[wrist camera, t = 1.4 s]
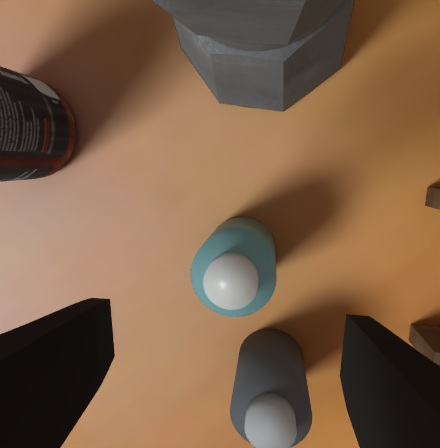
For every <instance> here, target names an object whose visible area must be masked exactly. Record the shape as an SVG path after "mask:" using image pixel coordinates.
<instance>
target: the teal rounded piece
mask: <svg viewBox="0 0 440 448" xmlns="http://www.w3.org/2000/svg"><path fill="white" fill-rule="evenodd" d="M191 282H192V286H193V289H194V291H195V293H196V295H197V296H198V298H199V299H200V300H201V302H202V303H203V304H204V305H205V306H207V307H208V308H209V309H211V310H212V311H214V312H216V313H219V314H221V315H225V316H230V317H240V316H246V315H249V314H252V313H254V312H256V311H258V310H259V309H261V308H262V307H263V306H264V305H265V304H266V303H267V302H268V301H269V300H270V298H271V296H272V294H273V292H274V289H275V286H276V256H275V243H274V240H273V237H272V235H271V233H270V232H269V230H268V229H267V228H266V227H265V226H264V225H263V224H261V223H260V222H258V221H256V220H254V219H252V218H247V217H236V218H232V219H229V220H227V221H225V222H223V223H222V224H221V225H219V226H218V227H217V228H216V230H215V231H214V232H213V233H212V234H211V236H210V237H209V238H208V239H207V241H206V242H205V243H204V244H203V245H202V247H201V248H200V249H199V250H198V252H197V253H196V255H195V257H194V259H193V262H192V266H191Z"/></svg>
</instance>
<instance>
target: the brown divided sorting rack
mask: <svg viewBox="0 0 440 448" xmlns="http://www.w3.org/2000/svg"><path fill="white" fill-rule="evenodd" d="M425 206H429V207H432V208H436V209H439V210H440V187H427V195H426V203H425ZM409 341H410V342H411V344H412V345H413V346H414V347H415V349H416V350H417V351H419V352H420V353H422V354H423V355H424V356H426V357H427V358H429V359H430V360H432V361H433V362H435V363H436V364H438V365H439V366H440V327H439V326H426V325H412V324H411V327H410V335H409Z"/></svg>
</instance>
